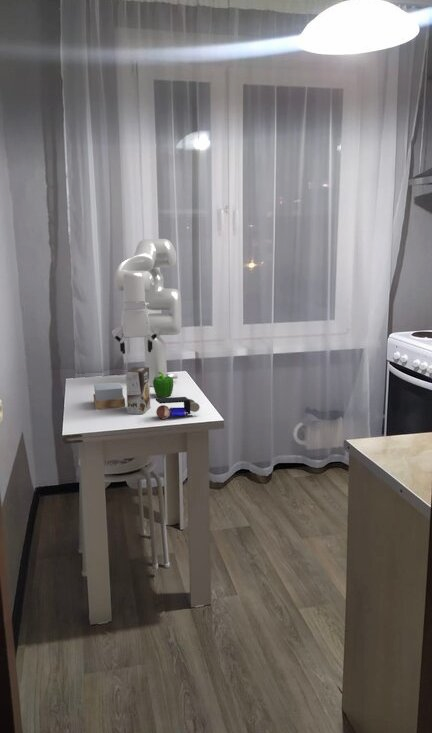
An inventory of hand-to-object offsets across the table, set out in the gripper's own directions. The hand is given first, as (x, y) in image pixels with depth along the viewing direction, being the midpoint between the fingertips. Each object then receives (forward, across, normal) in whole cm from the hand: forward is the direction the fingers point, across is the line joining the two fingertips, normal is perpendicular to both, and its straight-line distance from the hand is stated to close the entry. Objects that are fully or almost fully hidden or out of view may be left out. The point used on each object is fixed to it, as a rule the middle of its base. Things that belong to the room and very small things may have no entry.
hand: (136, 352), depth 214 cm
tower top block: (+19, +10, -13) cm, 25 cm away
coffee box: (+23, 0, -1) cm, 23 cm away
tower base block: (+23, +10, -13) cm, 28 cm away
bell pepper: (+22, -13, -19) cm, 32 cm away
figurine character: (+23, -12, +11) cm, 28 cm away
